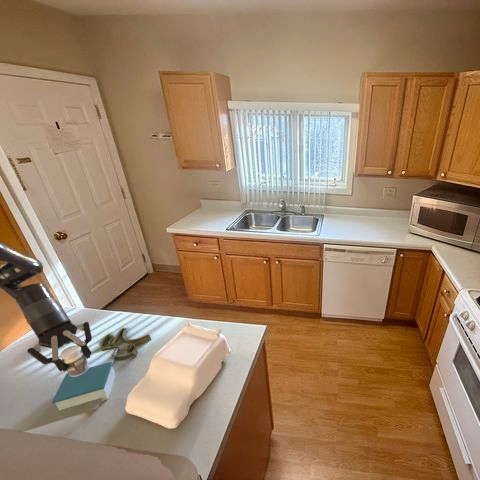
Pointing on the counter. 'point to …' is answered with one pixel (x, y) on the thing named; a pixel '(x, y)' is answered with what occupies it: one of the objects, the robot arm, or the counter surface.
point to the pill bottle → (74, 361)
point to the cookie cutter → (129, 348)
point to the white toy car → (178, 375)
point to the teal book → (85, 386)
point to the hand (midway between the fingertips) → (77, 363)
